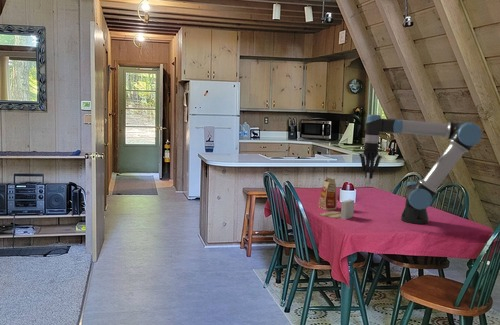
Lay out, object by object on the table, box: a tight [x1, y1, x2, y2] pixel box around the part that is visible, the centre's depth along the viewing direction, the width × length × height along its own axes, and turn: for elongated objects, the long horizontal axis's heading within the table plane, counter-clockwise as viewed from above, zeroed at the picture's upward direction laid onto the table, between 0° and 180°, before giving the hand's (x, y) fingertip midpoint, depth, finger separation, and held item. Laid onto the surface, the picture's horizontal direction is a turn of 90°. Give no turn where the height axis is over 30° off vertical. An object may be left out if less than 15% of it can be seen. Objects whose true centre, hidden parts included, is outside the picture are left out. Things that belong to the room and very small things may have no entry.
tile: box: [340, 199, 355, 220], centre depth 280 cm, size 3×10×10 cm, turn 141°
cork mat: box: [318, 210, 341, 220], centre depth 287 cm, size 12×14×1 cm
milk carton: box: [318, 176, 338, 211], centre depth 304 cm, size 9×9×20 cm
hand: (368, 184), depth 271 cm, fingers closed
